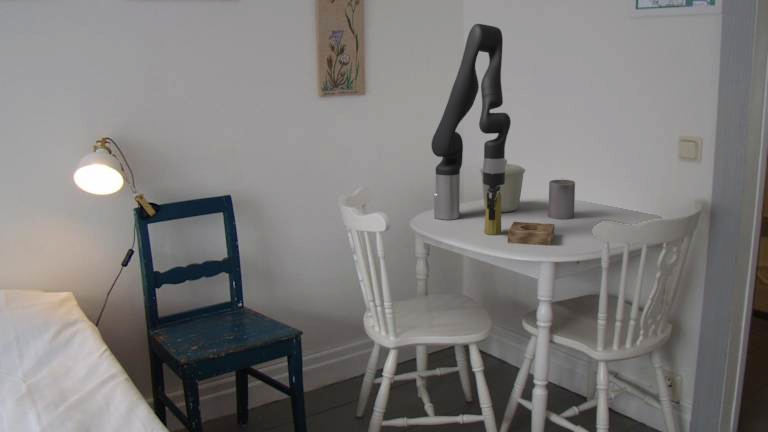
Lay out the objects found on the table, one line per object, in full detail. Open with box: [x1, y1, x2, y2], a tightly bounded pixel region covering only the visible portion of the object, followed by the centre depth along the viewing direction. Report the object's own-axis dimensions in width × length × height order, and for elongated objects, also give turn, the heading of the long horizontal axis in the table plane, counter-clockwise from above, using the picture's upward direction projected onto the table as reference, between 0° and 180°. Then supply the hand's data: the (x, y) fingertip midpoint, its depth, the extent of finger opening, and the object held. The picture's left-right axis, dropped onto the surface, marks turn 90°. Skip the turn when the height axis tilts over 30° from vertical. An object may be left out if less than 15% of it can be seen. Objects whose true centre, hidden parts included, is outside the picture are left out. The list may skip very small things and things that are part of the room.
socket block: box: [507, 221, 555, 246], centre depth 251 cm, size 14×14×4 cm
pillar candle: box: [547, 178, 576, 220], centre depth 282 cm, size 10×10×15 cm
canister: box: [479, 158, 526, 213], centre depth 295 cm, size 18×18×21 cm
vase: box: [483, 193, 503, 236], centre depth 259 cm, size 6×6×14 cm
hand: (493, 217), depth 259 cm, fingers closed on vase, 5 cm apart
